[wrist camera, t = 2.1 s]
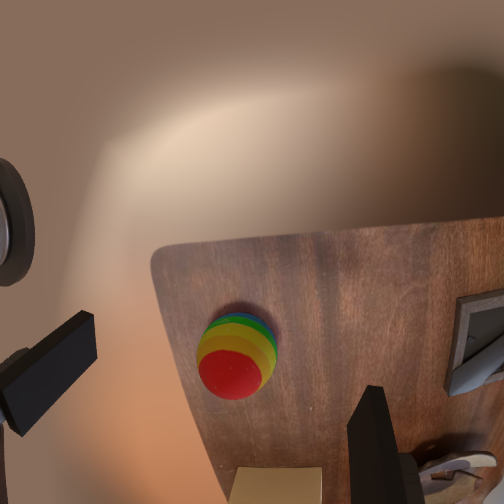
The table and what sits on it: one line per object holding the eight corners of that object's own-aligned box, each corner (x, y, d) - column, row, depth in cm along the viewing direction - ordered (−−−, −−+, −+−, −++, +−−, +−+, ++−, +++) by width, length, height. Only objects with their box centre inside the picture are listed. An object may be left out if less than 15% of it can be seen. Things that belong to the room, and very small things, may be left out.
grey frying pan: (509, 417, 34) (525, 447, 26) (448, 506, 42) (453, 531, 35) (393, 437, 37) (401, 476, 30) (354, 520, 46) (354, 548, 38)
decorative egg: (212, 296, 35) (180, 343, 26) (286, 309, 34) (277, 363, 25) (207, 355, 38) (180, 409, 28) (273, 369, 37) (262, 428, 27)
